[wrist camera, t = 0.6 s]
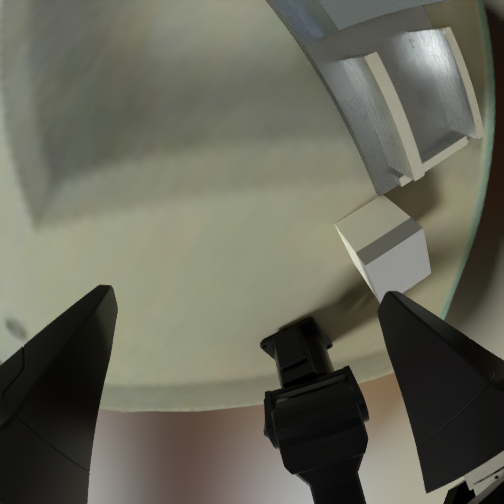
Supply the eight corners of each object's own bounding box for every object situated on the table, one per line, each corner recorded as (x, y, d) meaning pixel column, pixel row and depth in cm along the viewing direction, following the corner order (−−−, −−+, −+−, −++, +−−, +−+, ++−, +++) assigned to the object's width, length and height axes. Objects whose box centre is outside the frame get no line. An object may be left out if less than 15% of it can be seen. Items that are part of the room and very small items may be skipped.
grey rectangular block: (396, 235, 24) (431, 273, 19) (353, 262, 25) (381, 306, 20) (382, 194, 21) (422, 227, 16) (334, 223, 22) (365, 265, 17)
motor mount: (465, 135, 18) (499, 150, 15) (376, 192, 21) (406, 217, 17) (378, -50, 9) (408, -66, 5) (251, -17, 11) (261, -43, 8)
